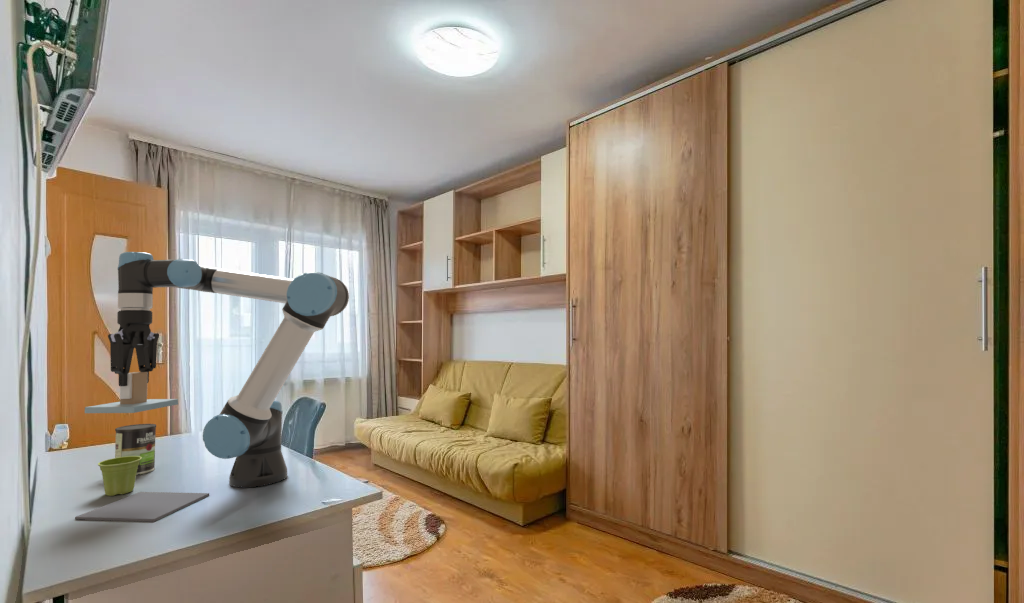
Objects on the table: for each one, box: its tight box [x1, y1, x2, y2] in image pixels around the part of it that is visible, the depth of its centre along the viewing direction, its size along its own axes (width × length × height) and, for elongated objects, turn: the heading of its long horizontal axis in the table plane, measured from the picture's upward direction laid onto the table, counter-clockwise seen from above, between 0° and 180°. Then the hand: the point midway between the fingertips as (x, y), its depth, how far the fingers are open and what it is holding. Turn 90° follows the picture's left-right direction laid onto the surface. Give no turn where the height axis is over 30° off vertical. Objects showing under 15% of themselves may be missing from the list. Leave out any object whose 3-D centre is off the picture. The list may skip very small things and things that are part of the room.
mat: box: [74, 491, 210, 523], centre depth 124 cm, size 20×18×1 cm
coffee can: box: [114, 423, 157, 476], centre depth 156 cm, size 10×10×14 cm
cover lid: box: [84, 371, 179, 414], centre depth 132 cm, size 14×14×10 cm
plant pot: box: [97, 456, 142, 497], centre depth 136 cm, size 9×9×9 cm
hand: (133, 397), depth 132 cm, fingers closed on cover lid, 4 cm apart
